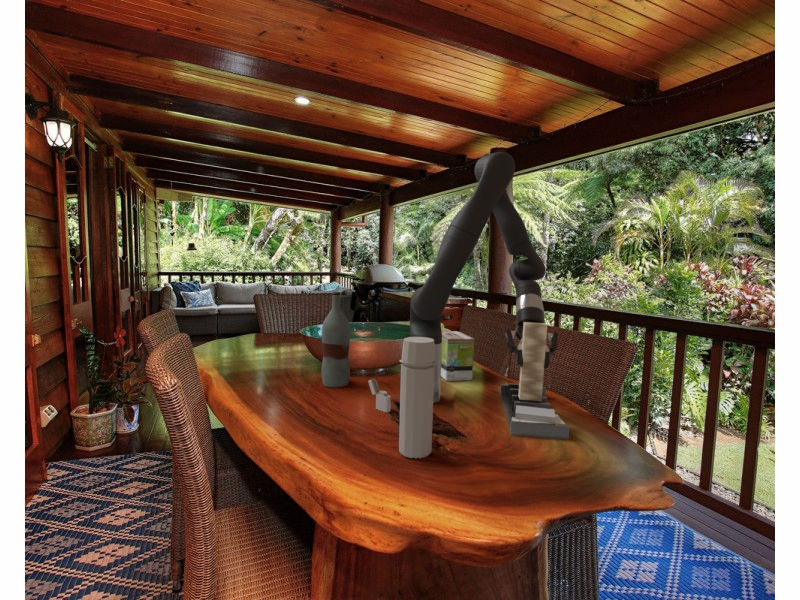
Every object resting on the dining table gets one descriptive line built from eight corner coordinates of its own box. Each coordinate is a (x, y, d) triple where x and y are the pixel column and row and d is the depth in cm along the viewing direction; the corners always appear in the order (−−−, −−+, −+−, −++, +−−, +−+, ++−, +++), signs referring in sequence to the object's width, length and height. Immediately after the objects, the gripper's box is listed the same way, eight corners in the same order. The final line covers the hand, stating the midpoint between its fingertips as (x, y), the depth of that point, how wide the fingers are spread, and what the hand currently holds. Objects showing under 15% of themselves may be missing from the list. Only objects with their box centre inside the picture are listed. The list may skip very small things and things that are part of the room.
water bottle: (430, 462, 94) (434, 344, 91) (393, 458, 96) (396, 341, 93) (436, 444, 103) (440, 336, 100) (402, 440, 105) (405, 333, 102)
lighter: (390, 411, 124) (391, 382, 123) (386, 412, 122) (387, 384, 121) (371, 405, 128) (372, 377, 127) (367, 406, 127) (367, 378, 126)
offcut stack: (514, 434, 106) (515, 415, 106) (511, 422, 114) (512, 404, 113) (565, 438, 105) (566, 419, 104) (558, 425, 112) (559, 408, 112)
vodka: (330, 389, 141) (330, 293, 138) (315, 382, 148) (316, 291, 145) (355, 384, 147) (356, 292, 144) (340, 378, 154) (341, 290, 151)
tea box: (473, 380, 156) (475, 338, 154) (445, 381, 153) (447, 338, 152) (457, 369, 170) (459, 330, 168) (432, 370, 168) (433, 330, 166)
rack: (510, 441, 106) (511, 418, 105) (499, 398, 136) (500, 380, 136) (568, 445, 104) (569, 422, 104) (544, 401, 135) (545, 383, 134)
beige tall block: (519, 399, 118) (525, 323, 116) (518, 395, 121) (523, 322, 119) (541, 401, 117) (547, 325, 115) (539, 397, 120) (545, 323, 118)
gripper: (505, 304, 125) (506, 356, 115) (559, 307, 123) (565, 360, 113) (502, 320, 131) (503, 371, 120) (553, 323, 129) (559, 375, 118)
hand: (533, 365), depth 117 cm, fingers closed on beige tall block, 5 cm apart
